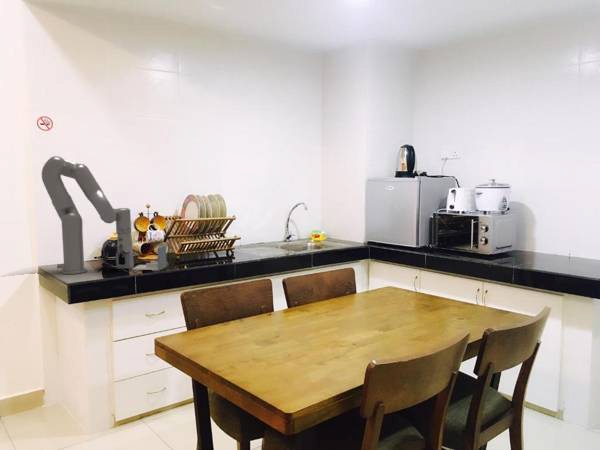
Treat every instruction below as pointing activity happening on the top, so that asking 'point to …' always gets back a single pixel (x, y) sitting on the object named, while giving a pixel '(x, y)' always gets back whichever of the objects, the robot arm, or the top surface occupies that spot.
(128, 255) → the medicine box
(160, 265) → the grey l-shaped piece
